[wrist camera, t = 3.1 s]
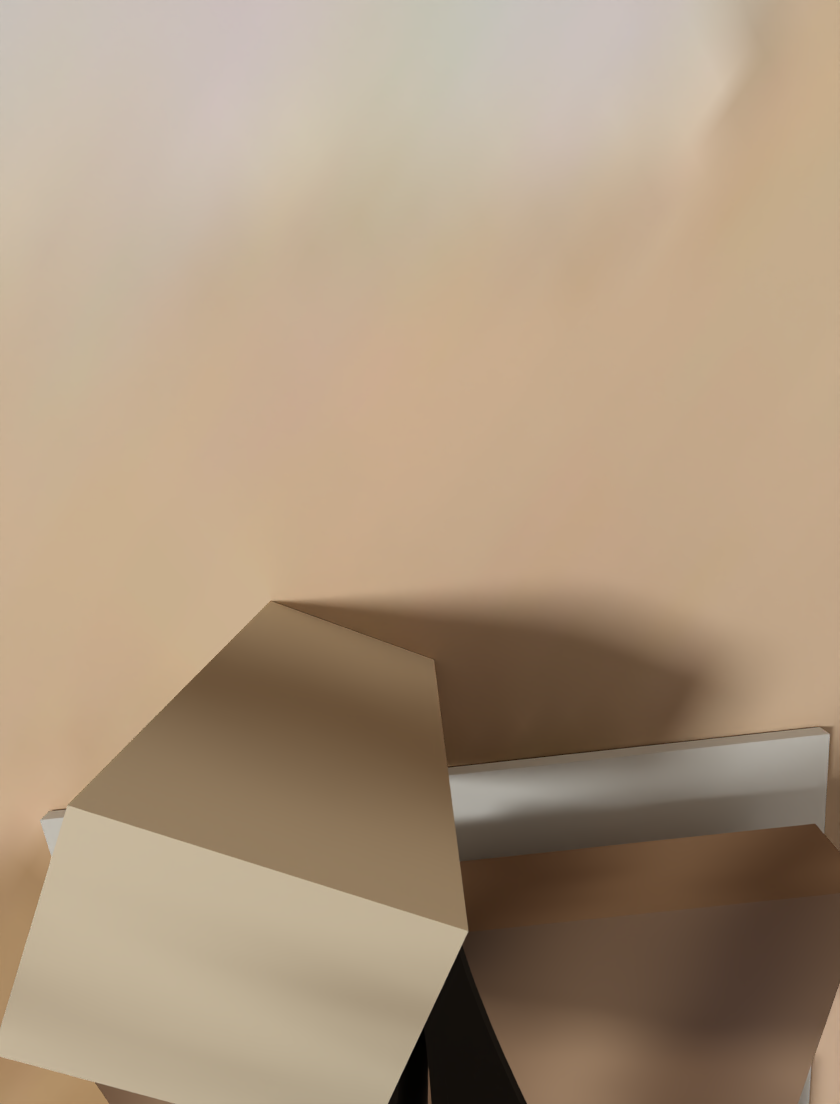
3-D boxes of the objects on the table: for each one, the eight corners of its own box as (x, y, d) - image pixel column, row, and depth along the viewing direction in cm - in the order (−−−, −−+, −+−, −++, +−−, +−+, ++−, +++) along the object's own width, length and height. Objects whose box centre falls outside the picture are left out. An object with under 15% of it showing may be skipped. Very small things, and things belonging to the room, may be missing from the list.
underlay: (820, 726, 12) (830, 734, 12) (795, 1186, 16) (803, 1201, 15) (48, 811, 13) (39, 820, 12) (182, 1246, 16) (178, 1261, 16)
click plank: (815, 823, 11) (871, 890, 9) (760, 1033, 14) (797, 1105, 12) (67, 903, 11) (23, 978, 10) (177, 1092, 14) (154, 1169, 13)
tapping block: (230, 715, 12) (270, 600, 12) (388, 769, 12) (434, 659, 12) (-8, 1055, 5) (67, 804, 5) (364, 1153, 6) (467, 932, 5)
